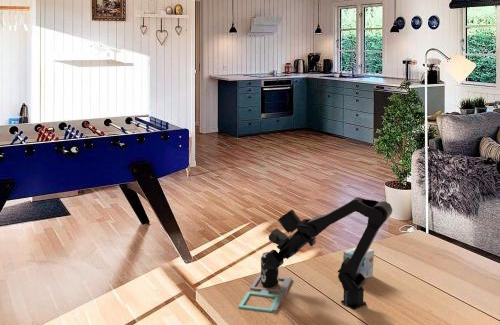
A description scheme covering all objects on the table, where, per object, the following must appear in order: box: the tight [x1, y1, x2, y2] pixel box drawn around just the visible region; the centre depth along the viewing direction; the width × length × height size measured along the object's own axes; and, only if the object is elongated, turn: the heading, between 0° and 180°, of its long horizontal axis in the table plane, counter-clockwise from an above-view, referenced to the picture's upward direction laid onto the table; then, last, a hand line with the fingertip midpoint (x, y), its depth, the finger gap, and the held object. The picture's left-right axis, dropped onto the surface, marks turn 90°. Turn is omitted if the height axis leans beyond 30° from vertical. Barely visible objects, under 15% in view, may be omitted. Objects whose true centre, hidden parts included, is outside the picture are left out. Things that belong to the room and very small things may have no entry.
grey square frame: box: [249, 274, 289, 294], centre depth 209 cm, size 12×12×1 cm
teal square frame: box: [237, 291, 280, 313], centre depth 195 cm, size 12×12×1 cm
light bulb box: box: [342, 247, 375, 279], centre depth 215 cm, size 11×7×11 cm, turn 126°
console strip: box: [259, 277, 293, 313], centre depth 202 cm, size 27×9×1 cm, turn 164°
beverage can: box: [260, 251, 279, 289], centre depth 208 cm, size 7×7×12 cm
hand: (268, 264), depth 208 cm, fingers open, 9 cm apart
